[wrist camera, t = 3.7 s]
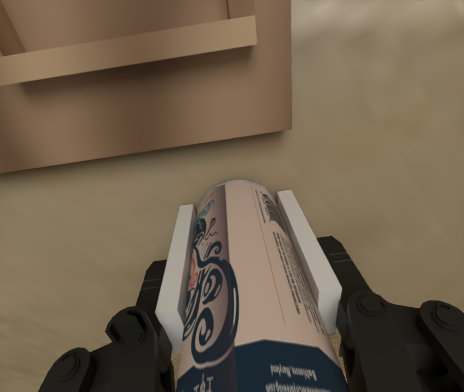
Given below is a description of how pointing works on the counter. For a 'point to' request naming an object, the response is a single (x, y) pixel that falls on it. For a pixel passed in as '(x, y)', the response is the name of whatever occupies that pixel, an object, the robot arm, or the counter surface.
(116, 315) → the robot arm
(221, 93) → the housing
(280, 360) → the beer can
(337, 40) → the counter surface
